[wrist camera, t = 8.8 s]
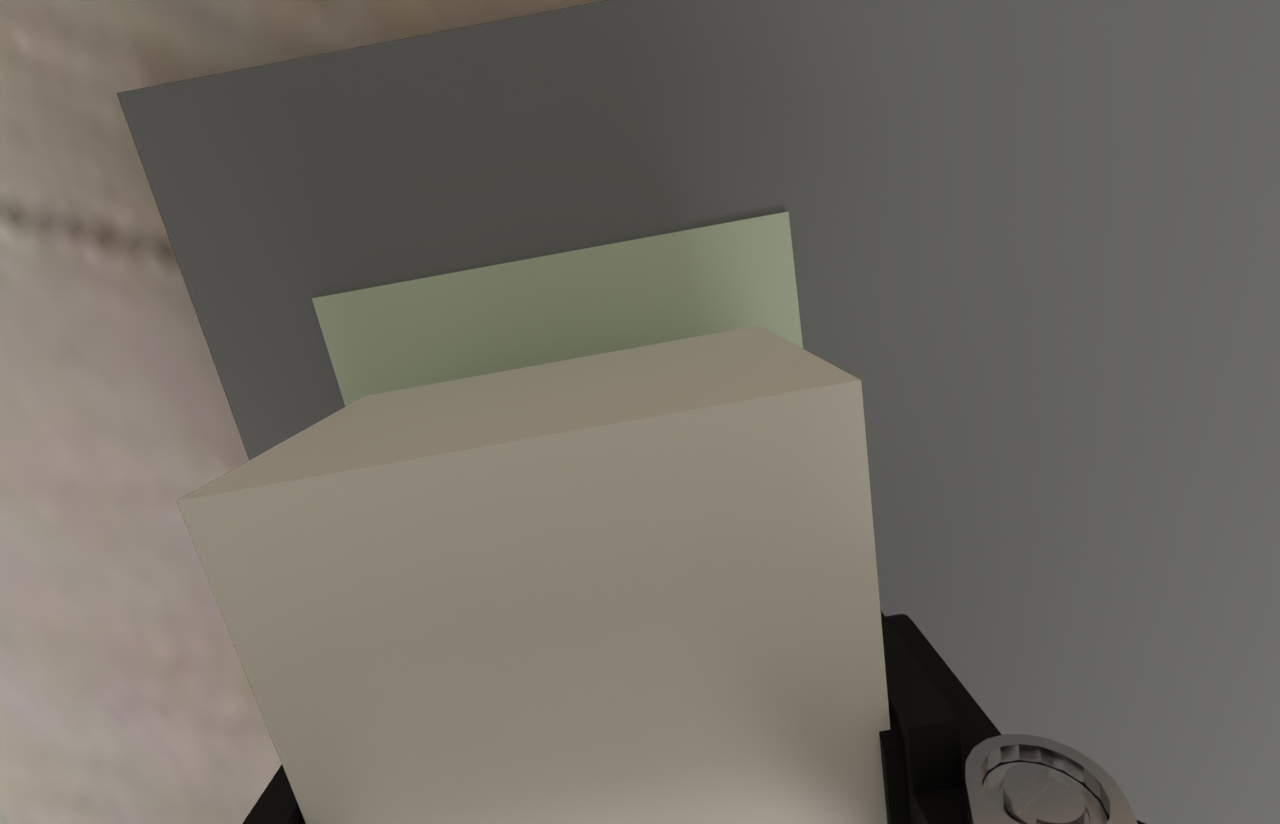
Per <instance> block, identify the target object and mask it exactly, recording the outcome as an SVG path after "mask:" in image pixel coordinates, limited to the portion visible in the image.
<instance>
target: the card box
mask: <svg viewBox="0 0 1280 824" xmlns="http://www.w3.org/2000/svg"><path fill="white" fill-rule="evenodd" d="M177 503H178V506H179V508H180V511H181V513H182V516H183V518H184V521H185V523H186V526H187V528H188V531H189V533H190V536H191V538H192V541H193V543H194V546H195V548H196V551H197V553H198V556H199V558H200V561H201V563H202V566H203V568H204V571H205V573H206V576H207V578H208V581H209V583H210V586H211V588H212V591H213V593H214V596H215V598H216V601H217V603H218V605H219V608H220V610H221V613H222V615H223V618H224V620H225V623H226V625H227V628H228V630H229V633H230V635H231V638H232V640H233V643H234V645H235V648H236V650H237V653H238V655H239V658H240V660H241V663H242V665H243V668H244V670H245V673H246V675H247V678H248V680H249V683H250V685H251V688H252V690H253V693H254V695H255V698H256V700H257V703H258V705H259V708H260V710H261V713H262V715H263V718H264V720H265V723H266V725H267V728H268V730H269V733H270V735H271V738H272V740H273V743H274V745H275V748H276V750H277V753H278V755H279V758H280V760H281V763H282V765H283V768H284V770H285V773H286V775H287V778H288V780H289V783H290V785H291V788H292V790H293V793H294V795H295V798H296V800H297V803H298V805H299V808H300V810H301V813H302V815H303V818H304V820H305V823H306V824H887V814H886V803H885V792H884V781H883V770H882V759H881V747H880V736H879V731H885V730H890V718H889V706H888V694H887V682H886V670H885V658H884V646H883V634H882V623H881V611H880V599H879V587H878V575H877V563H876V551H875V539H874V527H873V515H872V503H871V491H870V479H869V467H868V455H867V443H866V431H865V419H864V408H863V396H862V384H861V380H860V379H858V378H856V377H854V376H853V375H851V374H849V373H847V372H845V371H843V370H841V369H840V368H838V367H836V366H834V365H832V364H830V363H828V362H827V361H825V360H823V359H821V358H819V357H817V356H815V355H814V354H812V353H810V352H808V351H806V350H804V349H802V348H800V347H799V346H797V345H795V344H793V343H791V342H789V341H787V340H786V339H784V338H782V337H780V336H778V335H776V334H774V333H773V332H771V331H769V330H767V329H765V328H763V327H761V326H760V325H759V326H753V327H747V328H742V329H736V330H731V331H725V332H720V333H714V334H708V335H703V336H697V337H692V338H686V339H680V340H675V341H669V342H664V343H658V344H653V345H647V346H641V347H636V348H630V349H625V350H619V351H613V352H608V353H602V354H597V355H591V356H586V357H580V358H574V359H569V360H563V361H558V362H552V363H546V364H541V365H535V366H530V367H524V368H519V369H513V370H507V371H502V372H496V373H491V374H485V375H479V376H474V377H468V378H463V379H457V380H452V381H446V382H440V383H435V384H429V385H424V386H418V387H412V388H407V389H401V390H396V391H390V392H385V393H379V394H373V395H368V396H364V397H362V398H360V399H359V400H357V401H355V402H353V403H351V404H350V405H348V406H346V407H344V408H342V409H341V410H339V411H337V412H335V413H334V414H332V415H330V416H328V417H326V418H325V419H323V420H321V421H319V422H317V423H316V424H314V425H312V426H310V427H309V428H307V429H305V430H303V431H301V432H300V433H298V434H296V435H294V436H292V437H291V438H289V439H287V440H285V441H284V442H282V443H280V444H278V445H276V446H275V447H273V448H271V449H269V450H267V451H266V452H264V453H262V454H260V455H258V456H257V457H255V458H253V459H251V460H250V461H248V462H246V463H244V464H242V465H241V466H239V467H237V468H235V469H233V470H232V471H230V472H228V473H226V474H225V475H223V476H221V477H219V478H217V479H216V480H214V481H212V482H210V483H208V484H207V485H205V486H203V487H201V488H200V489H198V490H196V491H194V492H192V493H191V494H189V495H187V496H185V497H183V498H182V499H180V500H178V501H177Z"/></svg>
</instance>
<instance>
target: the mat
mask: <svg viewBox="0 0 1280 824" xmlns="http://www.w3.org/2000/svg"><path fill="white" fill-rule="evenodd" d="M117 96H118V98H119V101H120V104H121V107H122V109H123V112H124V115H125V118H126V120H127V123H128V126H129V129H130V131H131V134H132V137H133V140H134V142H135V145H136V148H137V151H138V154H139V156H140V159H141V162H142V165H143V167H144V170H145V173H146V176H147V178H148V181H149V184H150V187H151V189H152V192H153V195H154V198H155V200H156V203H157V206H158V209H159V212H160V214H161V217H162V220H163V223H164V225H165V228H166V231H167V234H168V236H169V239H170V242H171V245H172V247H173V250H174V253H175V256H176V258H177V261H178V264H179V267H180V270H181V272H182V275H183V278H184V281H185V283H186V286H187V289H188V292H189V294H190V297H191V300H192V303H193V305H194V308H195V311H196V314H197V316H198V319H199V322H200V325H201V328H202V330H203V333H204V336H205V339H206V341H207V344H208V347H209V350H210V352H211V355H212V358H213V361H214V363H215V366H216V369H217V372H218V374H219V377H220V380H221V383H222V386H223V388H224V391H225V394H226V397H227V399H228V402H229V405H230V408H231V410H232V413H233V416H234V419H235V421H236V424H237V427H238V430H239V433H240V435H241V438H242V441H243V444H244V446H245V449H246V452H247V455H248V457H249V460H251V459H253V458H255V457H257V456H258V455H260V454H262V453H264V452H266V451H267V450H269V449H271V448H273V447H275V446H276V445H278V444H280V443H282V442H284V441H285V440H287V439H289V438H291V437H292V436H294V435H296V434H298V433H300V432H301V431H303V430H305V429H307V428H309V427H310V426H312V425H314V424H316V423H317V422H319V421H321V420H323V419H325V418H326V417H328V416H330V415H332V414H334V413H335V412H337V411H339V410H341V409H342V408H344V407H346V406H348V405H350V404H351V403H353V402H355V401H357V400H359V399H360V398H362V397H364V396H368V395H373V394H379V393H385V392H390V391H396V390H401V389H407V388H412V387H418V386H424V385H429V384H435V383H440V382H446V381H452V380H457V379H463V378H468V377H474V376H479V375H485V374H491V373H496V372H502V371H507V370H513V369H519V368H524V367H530V366H535V365H541V364H546V363H552V362H558V361H563V360H569V359H574V358H580V357H586V356H591V355H597V354H602V353H608V352H613V351H619V350H625V349H630V348H636V347H641V346H647V345H653V344H658V343H664V342H669V341H675V340H680V339H686V338H692V337H697V336H703V335H708V334H714V333H720V332H725V331H731V330H736V329H742V328H747V327H753V326H759V325H760V326H761V327H763V328H765V329H767V330H769V331H771V332H773V333H774V334H776V335H778V336H780V337H782V338H784V339H786V340H787V341H789V342H791V343H793V344H795V345H797V346H799V347H800V348H802V349H804V350H806V351H808V352H810V353H812V354H814V355H815V356H817V357H819V358H821V359H823V360H825V361H827V362H828V363H830V364H832V365H834V366H836V367H838V368H840V369H841V370H843V371H845V372H847V373H849V374H851V375H853V376H854V377H856V378H858V379H860V380H861V384H862V396H863V408H864V419H865V431H866V443H867V455H868V467H869V479H870V491H871V503H872V515H873V527H874V539H875V551H876V563H877V575H878V587H879V599H880V610H881V611H882V613H883V614H884V615H885V616H891V615H897V614H905V615H907V616H908V617H909V618H910V619H911V620H912V621H913V622H914V623H915V625H916V626H917V627H918V628H919V630H920V631H921V632H922V634H923V635H924V636H925V637H926V639H927V640H928V641H929V643H930V644H931V645H932V646H933V648H934V649H935V650H936V651H937V653H938V654H939V655H940V657H941V658H942V659H943V660H944V662H945V663H946V664H947V665H948V667H949V668H950V669H951V671H952V672H953V673H954V674H955V676H956V677H957V678H958V679H959V681H960V682H961V683H962V685H963V686H964V687H965V688H966V690H967V691H968V692H969V694H970V695H971V696H972V697H973V699H974V700H975V701H976V702H977V704H978V705H979V706H980V708H981V709H982V710H983V711H984V713H985V714H986V715H987V716H988V718H989V719H990V720H991V722H992V723H993V724H994V725H995V727H996V728H997V729H998V730H999V732H1000V733H1001V734H1002V735H1003V734H1028V735H1033V736H1038V737H1043V738H1048V739H1051V740H1054V741H1056V742H1059V743H1061V744H1064V745H1066V746H1069V747H1071V748H1074V749H1075V750H1077V751H1079V752H1080V753H1082V754H1083V755H1085V756H1087V757H1088V758H1090V759H1092V760H1093V761H1095V762H1096V763H1097V764H1098V765H1099V766H1100V767H1102V768H1103V769H1104V770H1105V771H1106V772H1107V773H1108V774H1109V775H1110V776H1111V777H1112V778H1113V779H1114V780H1115V781H1116V783H1117V784H1118V786H1119V787H1120V789H1121V791H1122V792H1123V794H1124V795H1125V797H1126V798H1127V800H1128V803H1129V805H1130V807H1131V809H1132V812H1133V814H1134V816H1135V818H1136V820H1138V821H1141V822H1143V823H1145V824H1280V0H607V1H601V2H596V3H591V4H585V5H580V6H575V7H569V8H564V9H559V10H554V11H548V12H543V13H538V14H532V15H527V16H522V17H517V18H511V19H506V20H501V21H495V22H490V23H485V24H480V25H474V26H469V27H464V28H458V29H453V30H448V31H443V32H437V33H432V34H427V35H421V36H416V37H411V38H405V39H400V40H395V41H390V42H384V43H379V44H374V45H368V46H363V47H358V48H353V49H347V50H342V51H337V52H331V53H326V54H321V55H316V56H310V57H305V58H300V59H294V60H289V61H284V62H278V63H273V64H268V65H263V66H257V67H252V68H247V69H241V70H236V71H231V72H226V73H220V74H215V75H210V76H204V77H199V78H194V79H189V80H183V81H178V82H173V83H167V84H162V85H157V86H152V87H146V88H141V89H136V90H130V91H125V92H120V93H117Z"/></svg>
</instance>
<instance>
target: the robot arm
mask: <svg viewBox="0 0 1280 824" xmlns="http://www.w3.org/2000/svg"><path fill="white" fill-rule="evenodd" d="M880 611H881V610H880ZM881 623H882V634H883V646H884V658H885V670H886V682H887V694H888V706H889V718H890V730H885V731H879V736H880V747H881V759H882V770H883V781H884V792H885V803H886V814H887V824H1145V823H1143V822H1141V821H1138V820H1136V818H1135V816H1134V814H1133V812H1132V809H1131V807H1130V805H1129V803H1128V800H1127V798H1126V797H1125V795H1124V794H1123V792H1122V791H1121V789H1120V787H1119V786H1118V784H1117V783H1116V781H1115V780H1114V779H1113V778H1112V777H1111V776H1110V775H1109V774H1108V773H1107V772H1106V771H1105V770H1104V769H1103V768H1102V767H1100V766H1099V765H1098V764H1097V763H1096V762H1095V761H1093V760H1092V759H1090V758H1088V757H1087V756H1085V755H1083V754H1082V753H1080V752H1079V751H1077V750H1075V749H1074V748H1071V747H1069V746H1066V745H1064V744H1061V743H1059V742H1056V741H1054V740H1051V739H1048V738H1043V737H1038V736H1033V735H1028V734H1003V735H1002V734H1001V733H1000V732H999V730H998V729H997V728H996V727H995V725H994V724H993V723H992V722H991V720H990V719H989V718H988V716H987V715H986V714H985V713H984V711H983V710H982V709H981V708H980V706H979V705H978V704H977V702H976V701H975V700H974V699H973V697H972V696H971V695H970V694H969V692H968V691H967V690H966V688H965V687H964V686H963V685H962V683H961V682H960V681H959V679H958V678H957V677H956V676H955V674H954V673H953V672H952V671H951V669H950V668H949V667H948V665H947V664H946V663H945V662H944V660H943V659H942V658H941V657H940V655H939V654H938V653H937V651H936V650H935V649H934V648H933V646H932V645H931V644H930V643H929V641H928V640H927V639H926V637H925V636H924V635H923V634H922V632H921V631H920V630H919V628H918V627H917V626H916V625H915V623H914V622H913V621H912V620H911V619H910V618H909V617H908V616H907V615H905V614H897V615H891V616H885V615H884V614H883V613H882V611H881ZM243 824H306V823H305V820H304V818H303V815H302V813H301V810H300V808H299V805H298V803H297V800H296V798H295V795H294V793H293V790H292V788H291V785H290V783H289V780H288V778H287V775H286V773H285V770H284V768H283V765H281V767H280V768H279V770H278V771H277V773H276V774H275V776H274V777H273V779H272V780H271V782H270V783H269V785H268V786H267V788H266V789H265V791H264V792H263V794H262V795H261V797H260V798H259V800H258V801H257V803H256V804H255V806H254V807H253V809H252V810H251V812H250V813H249V815H248V816H247V818H246V819H245V821H244V822H243Z"/></svg>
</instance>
